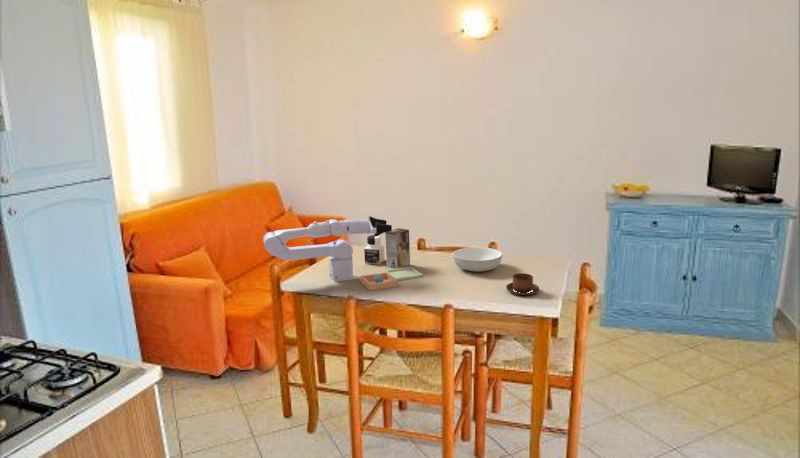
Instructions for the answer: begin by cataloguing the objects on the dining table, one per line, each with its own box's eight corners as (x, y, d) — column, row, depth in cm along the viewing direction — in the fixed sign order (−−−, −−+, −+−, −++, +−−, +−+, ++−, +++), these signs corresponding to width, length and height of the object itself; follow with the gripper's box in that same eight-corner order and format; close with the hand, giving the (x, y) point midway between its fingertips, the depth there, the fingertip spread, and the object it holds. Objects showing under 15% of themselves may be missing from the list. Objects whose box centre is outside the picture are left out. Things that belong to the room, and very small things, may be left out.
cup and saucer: (544, 291, 207) (545, 275, 205) (528, 300, 198) (529, 284, 197) (516, 284, 214) (516, 269, 213) (500, 293, 206) (500, 277, 204)
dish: (369, 291, 210) (369, 284, 209) (360, 282, 221) (360, 275, 220) (398, 287, 214) (397, 280, 214) (387, 278, 225) (387, 271, 224)
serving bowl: (499, 261, 244) (500, 246, 242) (503, 276, 224) (504, 260, 222) (452, 261, 246) (452, 246, 244) (452, 276, 226) (452, 260, 224)
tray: (395, 282, 220) (395, 278, 220) (384, 273, 231) (384, 270, 230) (422, 277, 224) (422, 274, 224) (411, 269, 235) (410, 266, 235)
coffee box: (398, 262, 246) (398, 227, 242) (410, 264, 242) (409, 229, 238) (386, 267, 239) (385, 231, 235) (397, 270, 235) (396, 233, 231)
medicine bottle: (364, 263, 245) (363, 237, 243) (370, 259, 252) (369, 233, 249) (379, 264, 243) (378, 238, 241) (384, 259, 250) (384, 234, 247)
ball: (376, 285, 215) (375, 276, 214) (373, 282, 218) (372, 274, 217) (384, 284, 216) (384, 275, 215) (381, 281, 220) (381, 273, 219)
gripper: (361, 221, 215) (394, 220, 220) (353, 212, 229) (384, 211, 233) (360, 239, 217) (393, 237, 221) (352, 229, 231) (383, 227, 235)
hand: (388, 225), depth 227 cm, fingers open, 7 cm apart
